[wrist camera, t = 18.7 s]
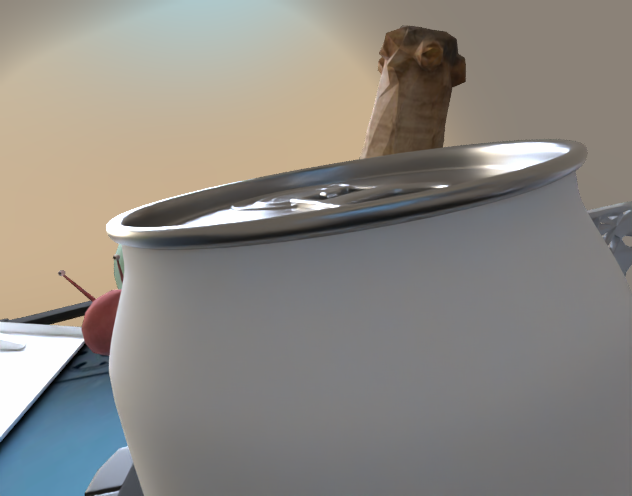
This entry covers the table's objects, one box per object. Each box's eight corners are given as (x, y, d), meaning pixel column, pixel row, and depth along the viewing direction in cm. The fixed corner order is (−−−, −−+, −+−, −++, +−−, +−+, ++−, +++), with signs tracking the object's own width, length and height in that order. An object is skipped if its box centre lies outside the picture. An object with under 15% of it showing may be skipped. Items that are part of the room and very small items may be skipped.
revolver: (112, 280, 65) (131, 284, 53) (117, 301, 65) (137, 311, 53) (-149, 338, 48) (-210, 365, 36) (-141, 367, 49) (-198, 403, 36)
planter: (729, 675, 11) (835, -213, 6) (220, 559, 17) (65, 56, 12) (580, 371, 25) (575, 13, 20) (324, 365, 30) (270, 88, 25)
